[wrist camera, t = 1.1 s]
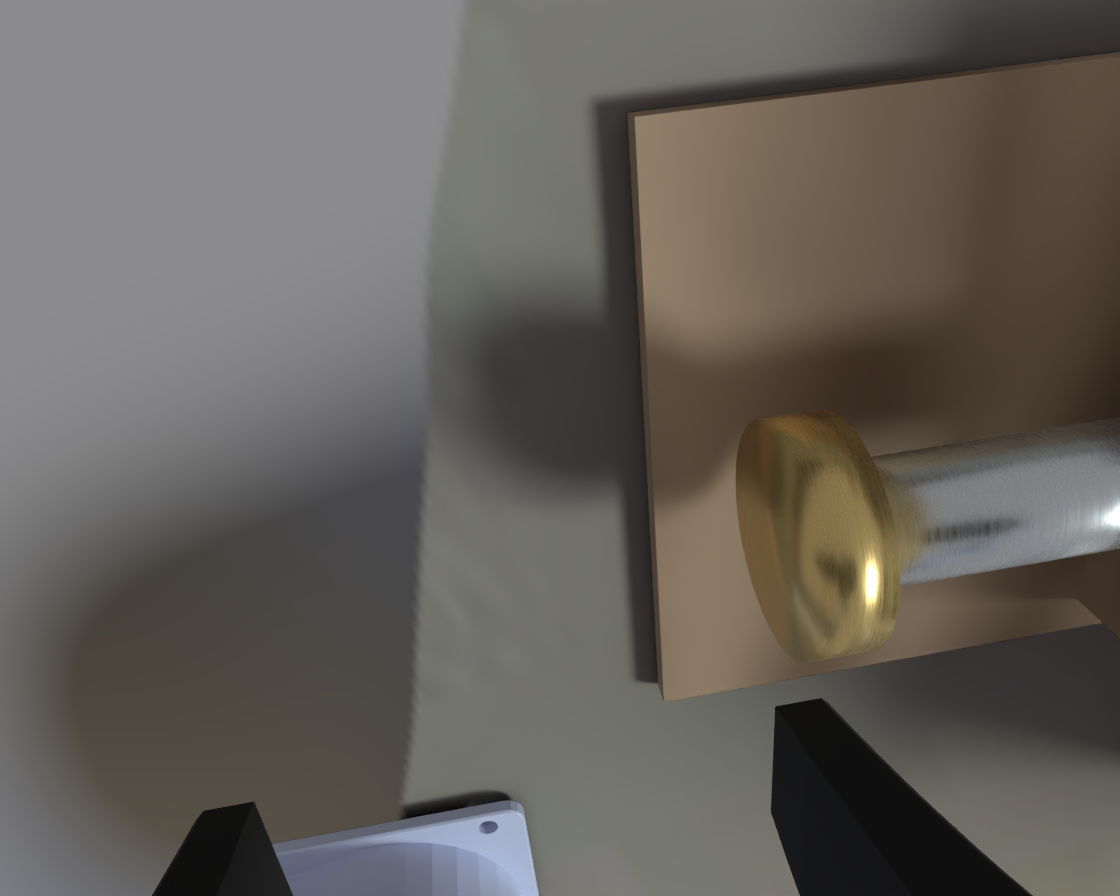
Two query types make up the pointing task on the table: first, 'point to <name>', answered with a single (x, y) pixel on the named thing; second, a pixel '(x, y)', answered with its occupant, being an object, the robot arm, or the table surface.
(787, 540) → the shaft
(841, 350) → the bearing block
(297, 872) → the robot arm
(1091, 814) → the table surface
